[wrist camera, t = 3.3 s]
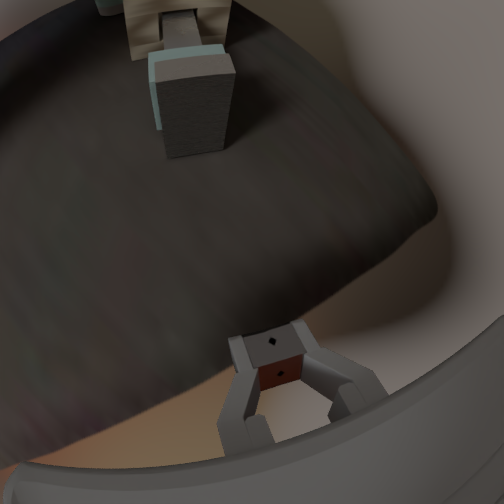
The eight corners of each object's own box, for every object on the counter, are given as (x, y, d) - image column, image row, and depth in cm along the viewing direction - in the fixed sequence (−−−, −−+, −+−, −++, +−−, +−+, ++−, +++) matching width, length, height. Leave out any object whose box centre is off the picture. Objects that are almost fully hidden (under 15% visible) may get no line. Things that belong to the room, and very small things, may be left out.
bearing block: (132, 61, 22) (122, -6, 14) (134, 24, 24) (130, -30, 15) (224, 48, 24) (234, -17, 16) (211, 14, 26) (219, -39, 17)
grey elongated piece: (167, 158, 20) (155, 82, 12) (156, 36, 23) (154, -20, 15) (223, 149, 21) (236, 73, 13) (194, 31, 24) (198, -25, 16)
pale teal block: (157, 130, 20) (148, 82, 14) (154, 99, 20) (148, 52, 15) (224, 120, 21) (231, 71, 15) (216, 90, 21) (222, 43, 16)
